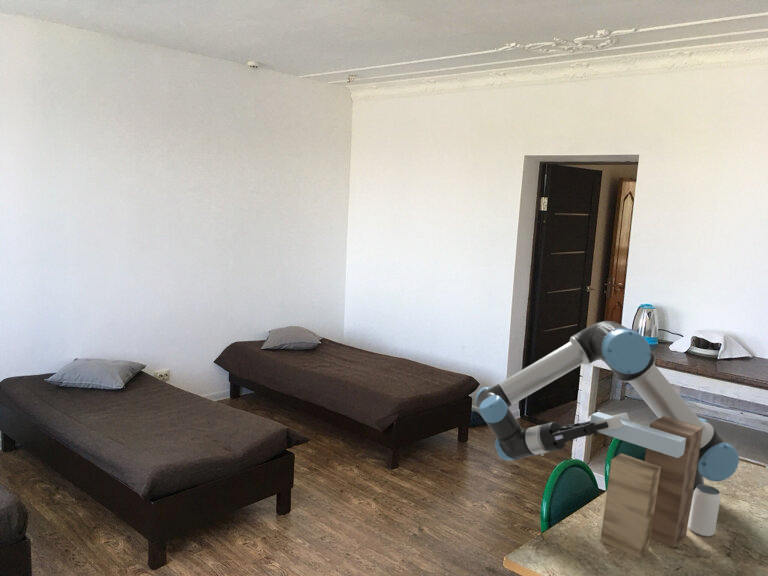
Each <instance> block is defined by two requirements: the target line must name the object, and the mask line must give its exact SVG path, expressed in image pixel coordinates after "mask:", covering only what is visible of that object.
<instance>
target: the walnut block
mask: <svg viewBox="0 0 768 576" xmlns="http://www.w3.org/2000/svg"><path fill="white" fill-rule="evenodd" d="M649 427H650V428H654V429H657V430H660V431H664V432H667V433H670V434H674V435H677V436H680V437H684V438H686V443H685V449H684V454H683V455H682V456H681V457H679V458H676V457H673V456H670V455H667V454H663V453H660V452H657V451H654V450H651V449H648V448H645V455H644V461H645V462H648V463H651V464H654V465H657V466H660V467H661V470H660V477H659V483H658V490H657V497H656V503H655V510H654V517H653V523H652V530H651V536H650V540H652V541H655V542H658V543H660V544H662V545H665V546H667V547H669V548H673V549H674V548H675V547H676V545H678V544H679V543H680V542H681V541H682V540H683V539H684V538H685V537H686V536H687V530H688V524H689V517H690V511H691V505H692V495H693V488H694V482H695V476H696V469H697V463H698V457H699V451H700V444H701V438H702V432H703V427H700V426H697V425H693V424H690V423H686V422H683V421H679V420H675V419H672V418H668V417H665V416H663V417H661V418H658V419H656V420H654V421H652V422H650V423H649Z"/></svg>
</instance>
